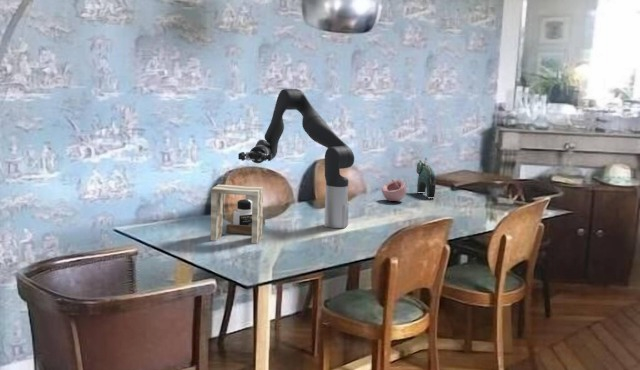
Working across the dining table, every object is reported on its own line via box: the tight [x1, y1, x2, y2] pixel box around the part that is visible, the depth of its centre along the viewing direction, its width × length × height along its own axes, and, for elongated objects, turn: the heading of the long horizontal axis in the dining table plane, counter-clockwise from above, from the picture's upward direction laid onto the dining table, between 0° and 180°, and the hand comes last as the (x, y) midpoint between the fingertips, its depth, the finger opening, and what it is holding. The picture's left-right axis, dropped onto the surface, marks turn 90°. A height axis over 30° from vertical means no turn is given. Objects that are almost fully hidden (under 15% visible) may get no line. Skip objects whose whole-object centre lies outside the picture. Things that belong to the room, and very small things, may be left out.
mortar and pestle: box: [381, 179, 407, 202], centre depth 345 cm, size 12×12×11 cm
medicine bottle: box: [232, 198, 252, 226], centre depth 276 cm, size 7×7×12 cm
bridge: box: [210, 184, 264, 244], centre depth 262 cm, size 10×18×20 cm, turn 84°
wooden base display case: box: [225, 195, 266, 235], centre depth 279 cm, size 19×12×15 cm, turn 174°
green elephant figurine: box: [416, 157, 436, 198], centre depth 363 cm, size 20×6×20 cm, turn 10°
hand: (252, 158), depth 298 cm, fingers open, 8 cm apart
